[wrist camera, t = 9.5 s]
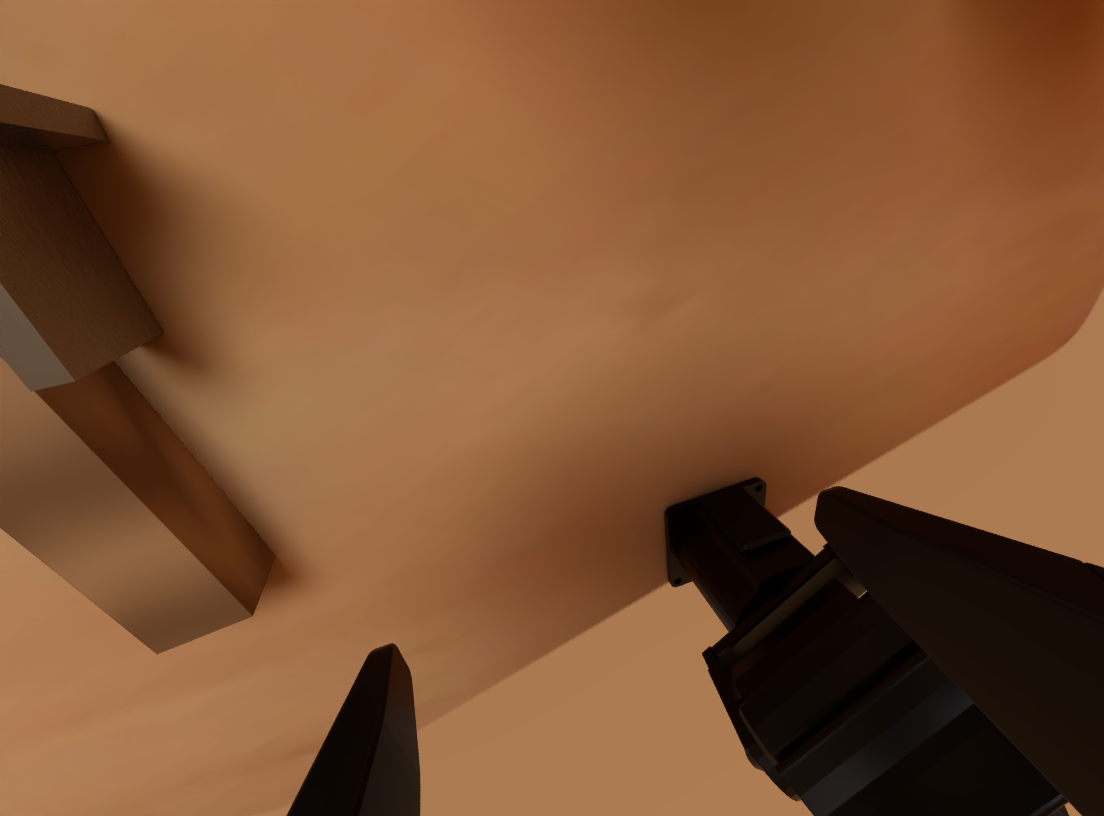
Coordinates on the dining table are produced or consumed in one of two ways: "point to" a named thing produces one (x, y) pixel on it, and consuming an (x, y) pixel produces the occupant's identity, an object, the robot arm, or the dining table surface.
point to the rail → (124, 509)
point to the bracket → (57, 253)
